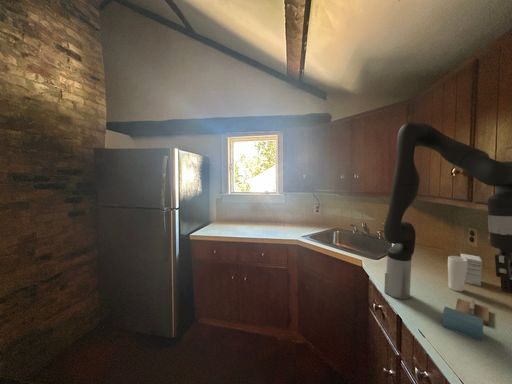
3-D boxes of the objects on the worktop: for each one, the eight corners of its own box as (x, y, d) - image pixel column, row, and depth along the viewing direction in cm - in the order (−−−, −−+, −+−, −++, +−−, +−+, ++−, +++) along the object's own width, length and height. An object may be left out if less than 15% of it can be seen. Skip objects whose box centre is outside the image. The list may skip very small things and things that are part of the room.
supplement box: (458, 276, 116) (460, 253, 115) (478, 280, 111) (480, 256, 110) (459, 281, 110) (461, 257, 109) (480, 286, 105) (482, 261, 104)
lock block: (442, 326, 79) (442, 313, 78) (444, 319, 82) (444, 306, 82) (482, 341, 71) (483, 327, 71) (482, 332, 75) (483, 319, 75)
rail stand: (454, 314, 85) (455, 304, 85) (457, 301, 93) (458, 292, 93) (488, 325, 78) (489, 315, 78) (488, 311, 87) (489, 301, 86)
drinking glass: (455, 285, 107) (457, 255, 105) (469, 292, 100) (472, 261, 99) (442, 285, 106) (444, 255, 105) (455, 293, 100) (457, 261, 98)
